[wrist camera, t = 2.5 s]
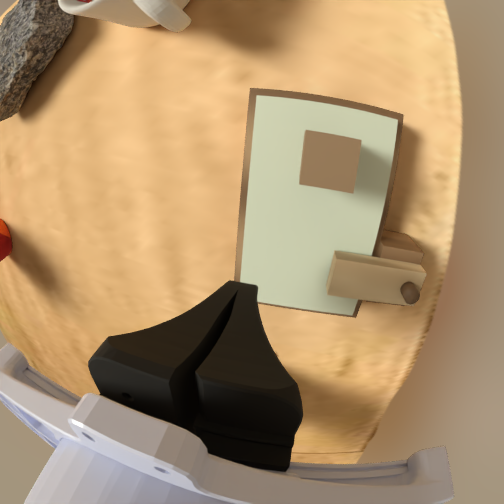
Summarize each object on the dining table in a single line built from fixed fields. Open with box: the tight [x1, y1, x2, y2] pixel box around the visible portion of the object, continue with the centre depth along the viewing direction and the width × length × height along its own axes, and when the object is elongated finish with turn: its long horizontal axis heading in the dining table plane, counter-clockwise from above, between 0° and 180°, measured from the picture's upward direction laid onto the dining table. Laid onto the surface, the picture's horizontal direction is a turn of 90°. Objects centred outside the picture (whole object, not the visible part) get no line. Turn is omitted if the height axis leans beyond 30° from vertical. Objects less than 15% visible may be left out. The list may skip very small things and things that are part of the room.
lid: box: [240, 95, 398, 315], centre depth 14 cm, size 13×8×4 cm, turn 175°
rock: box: [0, 0, 74, 121], centre depth 13 cm, size 13×6×15 cm
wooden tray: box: [234, 88, 424, 318], centre depth 16 cm, size 14×12×3 cm
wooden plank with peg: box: [326, 250, 427, 306], centre depth 15 cm, size 2×6×2 cm, turn 84°
